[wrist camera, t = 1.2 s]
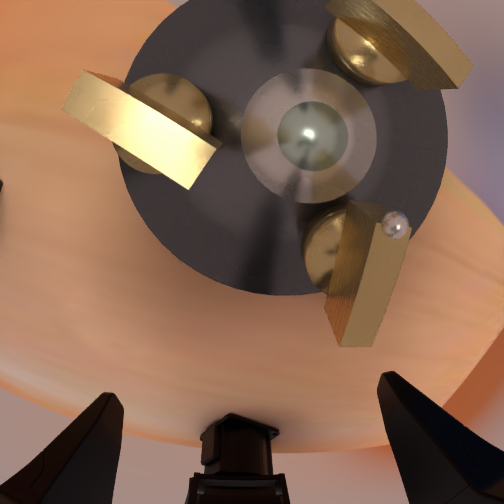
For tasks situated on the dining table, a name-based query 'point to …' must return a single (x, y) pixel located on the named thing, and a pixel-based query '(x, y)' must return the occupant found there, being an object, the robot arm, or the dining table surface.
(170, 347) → the dining table surface
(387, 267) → the wing knob
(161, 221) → the levelling base
